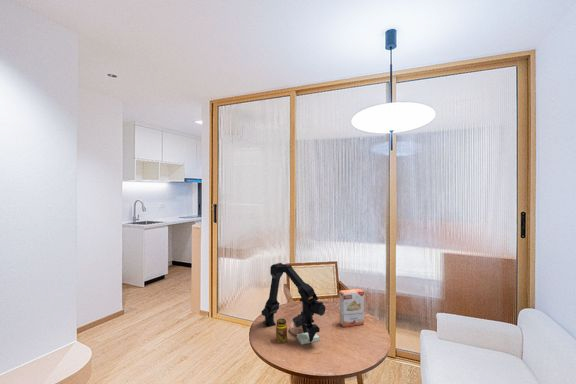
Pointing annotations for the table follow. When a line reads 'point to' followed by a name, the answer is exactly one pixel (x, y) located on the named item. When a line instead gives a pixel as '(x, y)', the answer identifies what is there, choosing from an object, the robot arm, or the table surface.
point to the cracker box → (351, 307)
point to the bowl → (296, 329)
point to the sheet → (306, 338)
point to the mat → (306, 343)
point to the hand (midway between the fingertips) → (307, 338)
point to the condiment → (281, 331)
